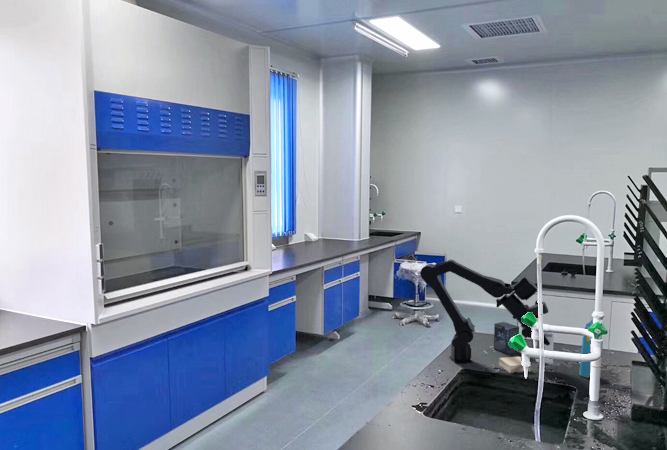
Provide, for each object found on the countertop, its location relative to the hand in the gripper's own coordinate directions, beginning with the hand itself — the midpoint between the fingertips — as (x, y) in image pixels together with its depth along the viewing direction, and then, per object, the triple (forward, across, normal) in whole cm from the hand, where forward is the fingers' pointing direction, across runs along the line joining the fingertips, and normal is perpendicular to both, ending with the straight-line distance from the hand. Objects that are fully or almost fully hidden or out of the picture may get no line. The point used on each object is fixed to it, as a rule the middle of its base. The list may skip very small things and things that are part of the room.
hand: (549, 342), depth 178 cm
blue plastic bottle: (+16, +1, -1) cm, 16 cm away
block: (0, -2, +16) cm, 16 cm away
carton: (+4, 0, +6) cm, 7 cm away
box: (-4, +17, +19) cm, 26 cm away
